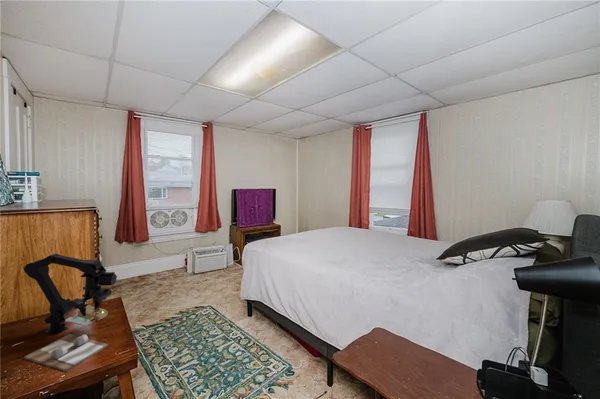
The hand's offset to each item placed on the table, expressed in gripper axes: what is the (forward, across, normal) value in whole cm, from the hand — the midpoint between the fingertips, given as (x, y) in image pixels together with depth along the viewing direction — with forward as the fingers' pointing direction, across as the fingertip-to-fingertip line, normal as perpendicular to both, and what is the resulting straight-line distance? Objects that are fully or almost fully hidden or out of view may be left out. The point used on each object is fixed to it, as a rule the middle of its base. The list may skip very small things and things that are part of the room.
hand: (90, 313), depth 133 cm
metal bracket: (+10, +8, +12) cm, 17 cm away
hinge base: (+9, -16, -8) cm, 20 cm away
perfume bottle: (+1, 0, -2) cm, 3 cm away
